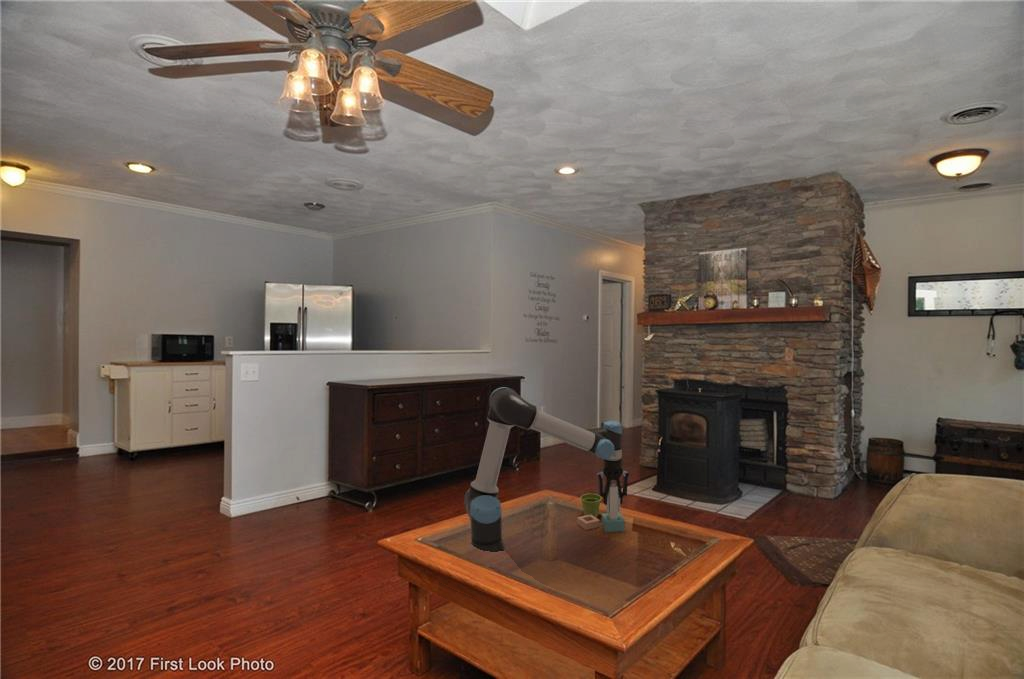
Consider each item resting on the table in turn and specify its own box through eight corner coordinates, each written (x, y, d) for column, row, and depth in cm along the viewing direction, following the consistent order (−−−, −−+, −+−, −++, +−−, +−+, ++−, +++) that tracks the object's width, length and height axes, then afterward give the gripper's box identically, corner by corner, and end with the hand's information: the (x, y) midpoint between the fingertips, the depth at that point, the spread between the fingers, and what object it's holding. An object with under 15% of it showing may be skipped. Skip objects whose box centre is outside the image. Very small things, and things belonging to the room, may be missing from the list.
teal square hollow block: (605, 532, 233) (605, 521, 233) (601, 523, 241) (601, 513, 241) (624, 531, 234) (624, 520, 233) (619, 522, 242) (619, 512, 241)
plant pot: (603, 520, 244) (603, 501, 243) (581, 521, 244) (581, 502, 243) (600, 511, 253) (600, 493, 252) (579, 512, 254) (579, 493, 253)
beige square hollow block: (585, 530, 235) (585, 523, 235) (577, 523, 242) (577, 517, 241) (599, 527, 238) (599, 520, 238) (591, 520, 244) (591, 514, 244)
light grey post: (610, 528, 236) (609, 483, 233) (608, 524, 239) (607, 480, 237) (617, 527, 236) (617, 483, 234) (616, 524, 239) (615, 480, 237)
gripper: (594, 461, 230) (594, 516, 232) (635, 460, 231) (635, 514, 233) (590, 456, 237) (591, 508, 240) (630, 454, 238) (630, 506, 241)
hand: (613, 511), depth 237 cm, fingers open, 4 cm apart
